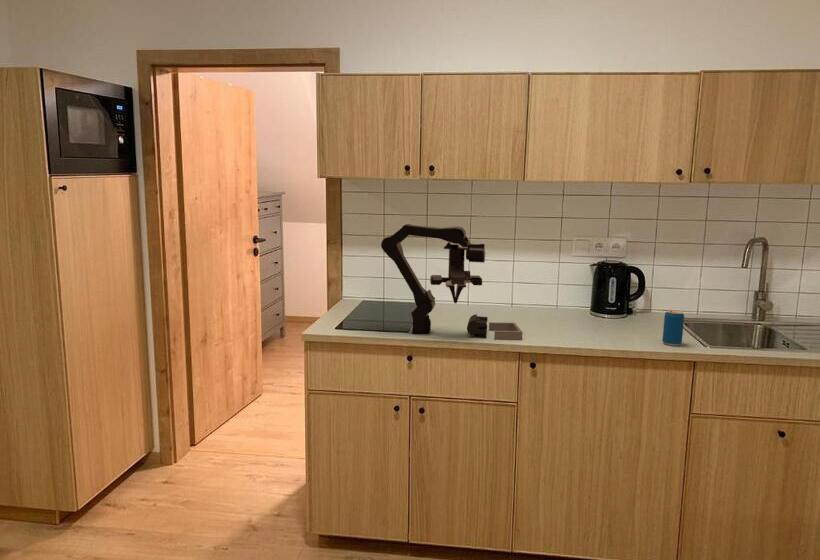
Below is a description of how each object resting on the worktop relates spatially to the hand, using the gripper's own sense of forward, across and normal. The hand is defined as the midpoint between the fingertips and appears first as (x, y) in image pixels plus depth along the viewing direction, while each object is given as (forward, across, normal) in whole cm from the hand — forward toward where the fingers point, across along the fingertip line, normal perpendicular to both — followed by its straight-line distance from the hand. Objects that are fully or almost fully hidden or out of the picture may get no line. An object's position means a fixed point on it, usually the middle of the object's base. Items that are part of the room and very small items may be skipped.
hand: (455, 303), depth 235 cm
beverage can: (+12, +78, -11) cm, 79 cm away
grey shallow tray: (+12, +18, 0) cm, 22 cm away
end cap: (+12, +8, 0) cm, 15 cm away
